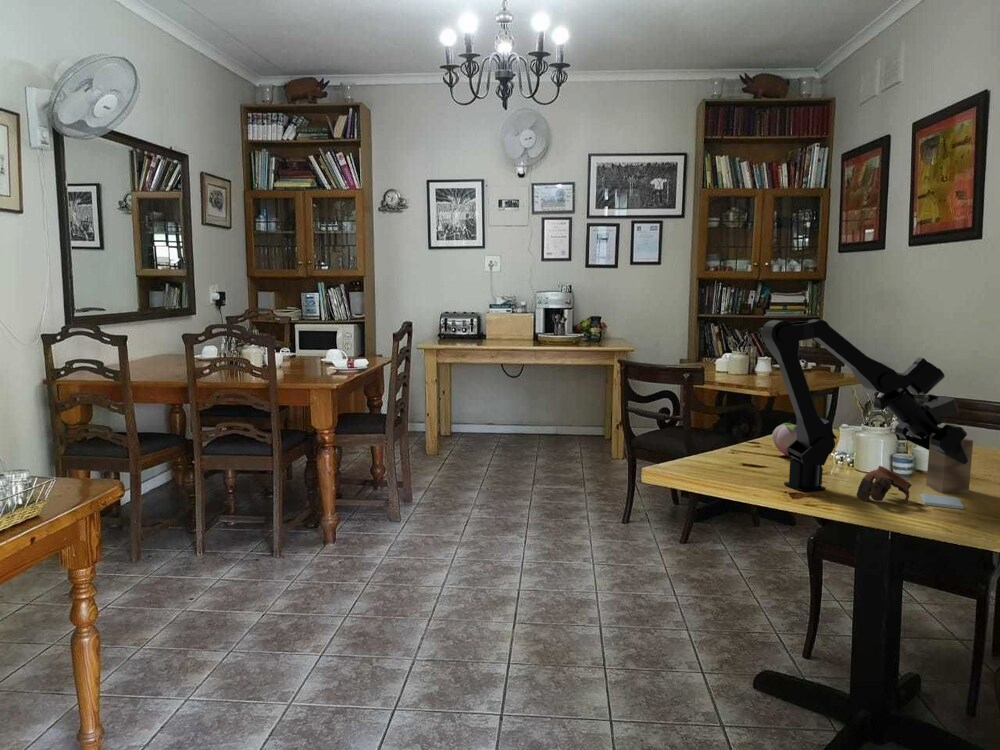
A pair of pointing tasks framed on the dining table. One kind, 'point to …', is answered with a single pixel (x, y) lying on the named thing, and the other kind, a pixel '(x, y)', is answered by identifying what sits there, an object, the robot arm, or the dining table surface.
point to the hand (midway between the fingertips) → (953, 457)
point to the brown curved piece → (881, 484)
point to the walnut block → (949, 470)
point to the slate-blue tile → (941, 501)
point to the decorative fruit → (784, 436)
